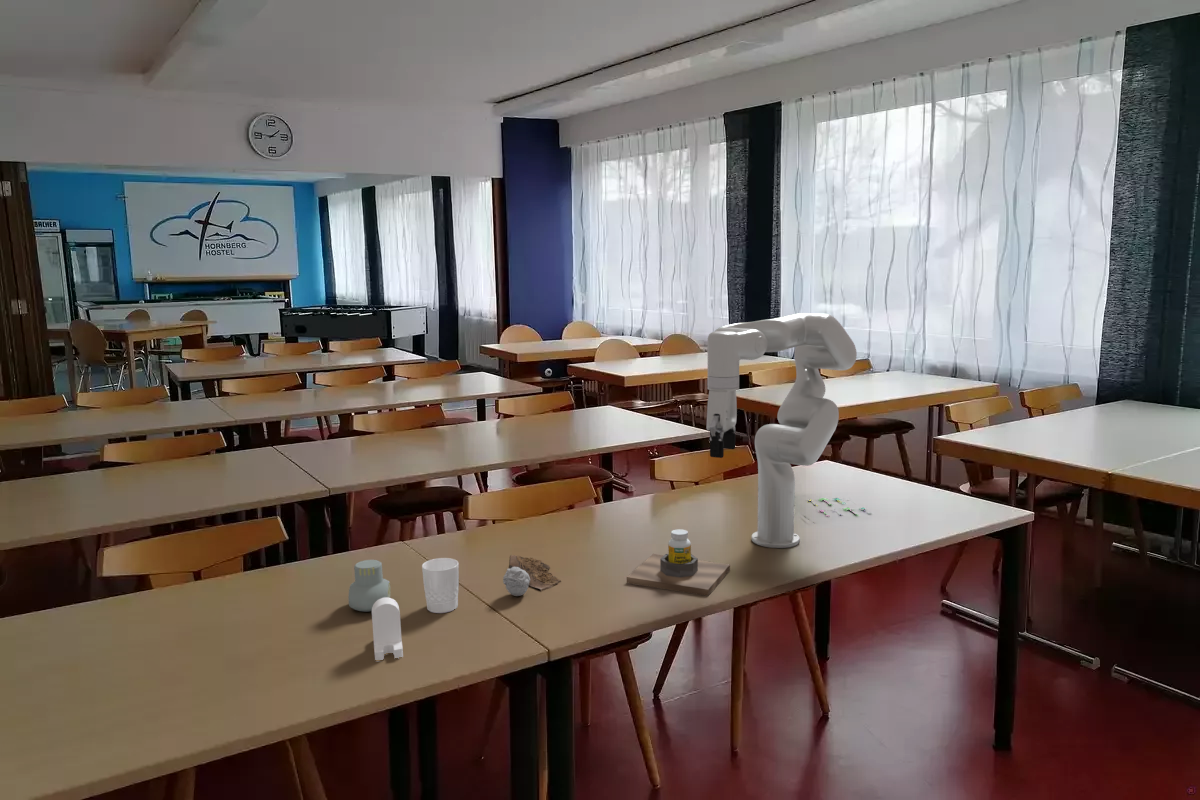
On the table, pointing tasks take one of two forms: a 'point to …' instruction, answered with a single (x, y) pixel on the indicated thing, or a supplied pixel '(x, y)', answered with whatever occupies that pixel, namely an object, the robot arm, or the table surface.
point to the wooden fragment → (535, 572)
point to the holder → (679, 574)
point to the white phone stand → (386, 628)
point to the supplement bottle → (679, 547)
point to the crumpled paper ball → (516, 581)
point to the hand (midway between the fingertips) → (722, 452)
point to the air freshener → (368, 585)
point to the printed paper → (831, 504)
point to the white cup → (441, 584)
